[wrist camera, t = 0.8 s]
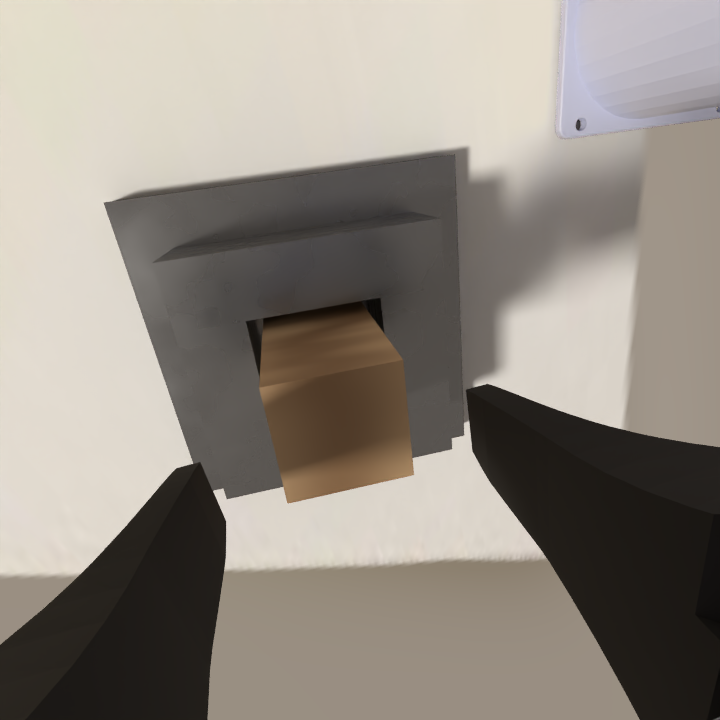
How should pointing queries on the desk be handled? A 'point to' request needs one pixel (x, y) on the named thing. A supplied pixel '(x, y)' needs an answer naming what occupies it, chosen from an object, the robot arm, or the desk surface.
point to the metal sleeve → (295, 295)
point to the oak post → (334, 401)
